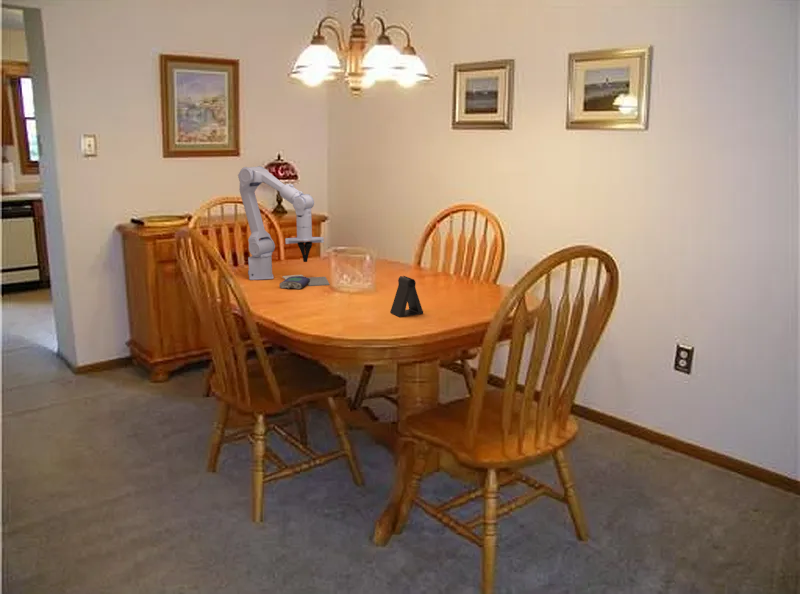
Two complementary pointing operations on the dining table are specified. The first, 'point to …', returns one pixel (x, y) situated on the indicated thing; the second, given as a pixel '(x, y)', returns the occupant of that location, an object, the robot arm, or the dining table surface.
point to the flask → (295, 282)
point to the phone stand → (406, 298)
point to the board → (318, 281)
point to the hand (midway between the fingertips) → (305, 261)
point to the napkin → (290, 276)
